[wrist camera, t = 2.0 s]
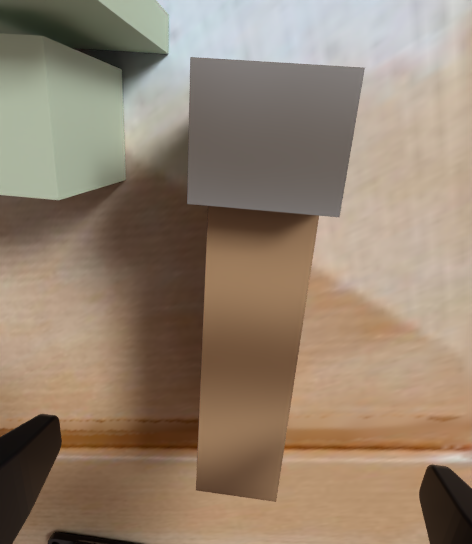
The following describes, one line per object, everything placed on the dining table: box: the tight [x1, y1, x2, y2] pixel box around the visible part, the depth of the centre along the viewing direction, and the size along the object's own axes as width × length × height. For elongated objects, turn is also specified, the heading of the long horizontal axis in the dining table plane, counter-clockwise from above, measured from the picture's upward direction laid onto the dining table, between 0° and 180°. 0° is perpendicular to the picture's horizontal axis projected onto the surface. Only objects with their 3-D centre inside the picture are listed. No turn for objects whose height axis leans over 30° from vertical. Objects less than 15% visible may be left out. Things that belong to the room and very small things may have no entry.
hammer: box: [187, 57, 365, 502], centre depth 13 cm, size 14×4×6 cm, turn 176°
